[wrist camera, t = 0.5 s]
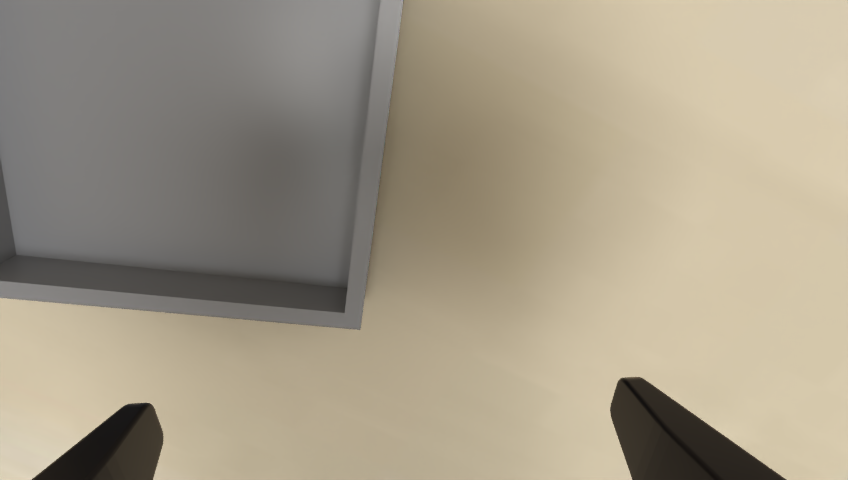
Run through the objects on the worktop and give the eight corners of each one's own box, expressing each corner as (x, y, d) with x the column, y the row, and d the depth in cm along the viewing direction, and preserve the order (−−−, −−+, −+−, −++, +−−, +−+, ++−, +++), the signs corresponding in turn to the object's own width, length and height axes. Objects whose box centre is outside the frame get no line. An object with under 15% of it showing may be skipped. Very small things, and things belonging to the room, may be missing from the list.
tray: (362, 298, 24) (360, 329, 21) (9, 263, 22) (-45, 293, 19) (410, -71, 18) (415, -93, 16) (-67, -173, 16) (-160, -220, 13)
